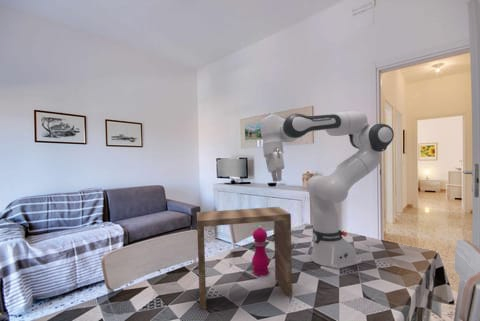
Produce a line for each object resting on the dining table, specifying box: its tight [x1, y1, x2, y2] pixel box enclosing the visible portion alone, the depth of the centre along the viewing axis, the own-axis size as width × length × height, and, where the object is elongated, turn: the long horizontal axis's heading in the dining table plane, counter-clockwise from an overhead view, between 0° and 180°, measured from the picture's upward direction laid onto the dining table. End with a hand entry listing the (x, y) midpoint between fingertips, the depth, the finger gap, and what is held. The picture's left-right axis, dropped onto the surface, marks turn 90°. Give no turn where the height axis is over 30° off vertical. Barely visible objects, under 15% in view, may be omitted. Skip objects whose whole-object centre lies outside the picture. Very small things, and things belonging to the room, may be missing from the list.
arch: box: [196, 206, 293, 310], centre depth 87 cm, size 32×12×29 cm, turn 101°
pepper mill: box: [251, 224, 270, 277], centre depth 102 cm, size 7×7×20 cm
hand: (277, 181), depth 106 cm, fingers open, 8 cm apart
